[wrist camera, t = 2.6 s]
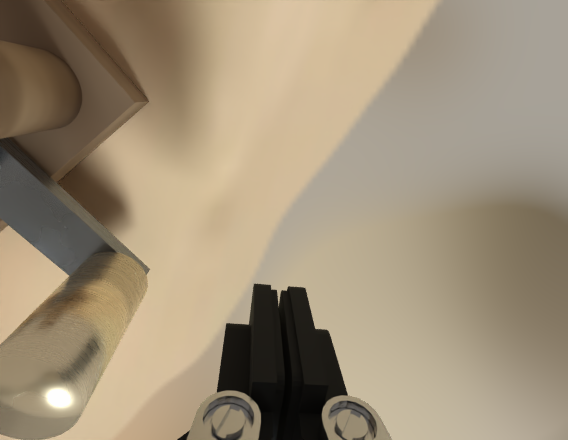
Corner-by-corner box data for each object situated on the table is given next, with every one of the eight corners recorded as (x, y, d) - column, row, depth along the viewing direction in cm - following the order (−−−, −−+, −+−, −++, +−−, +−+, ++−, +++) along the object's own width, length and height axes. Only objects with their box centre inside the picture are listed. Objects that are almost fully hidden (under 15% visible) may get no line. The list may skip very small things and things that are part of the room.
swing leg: (165, 276, 16) (106, 402, 10) (120, 310, 17) (33, 454, 10) (-18, 103, 13) (-300, 113, 6) (-68, 152, 14) (-382, 208, 7)
